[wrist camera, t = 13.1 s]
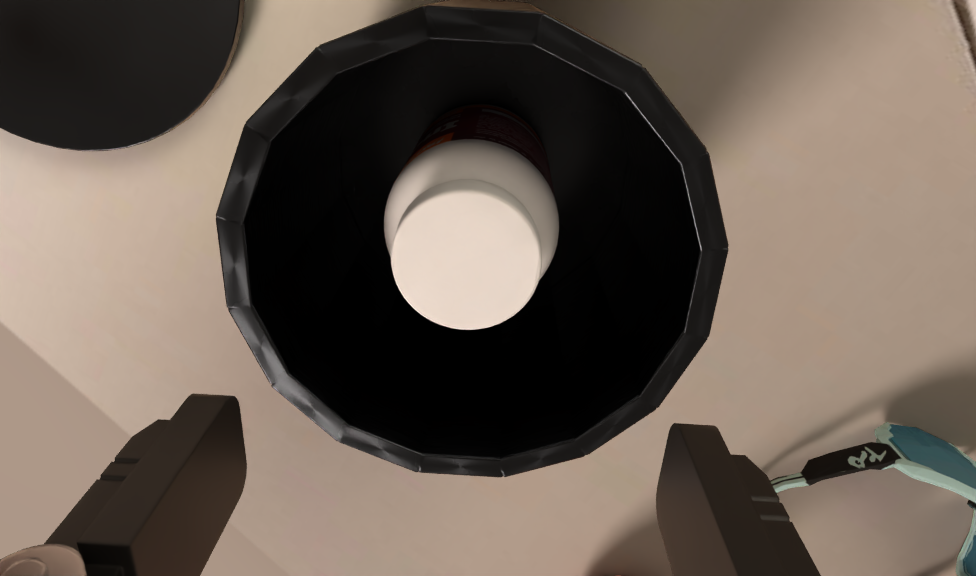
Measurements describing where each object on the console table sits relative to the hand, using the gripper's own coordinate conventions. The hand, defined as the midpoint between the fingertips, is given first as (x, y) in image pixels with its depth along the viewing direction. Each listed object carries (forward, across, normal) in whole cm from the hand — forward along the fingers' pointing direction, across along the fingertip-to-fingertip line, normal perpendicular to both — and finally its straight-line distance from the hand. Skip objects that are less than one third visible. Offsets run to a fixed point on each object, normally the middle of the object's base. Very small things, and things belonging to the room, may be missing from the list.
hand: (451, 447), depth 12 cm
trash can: (+20, 0, 0) cm, 20 cm away
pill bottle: (+20, 0, 0) cm, 20 cm away
